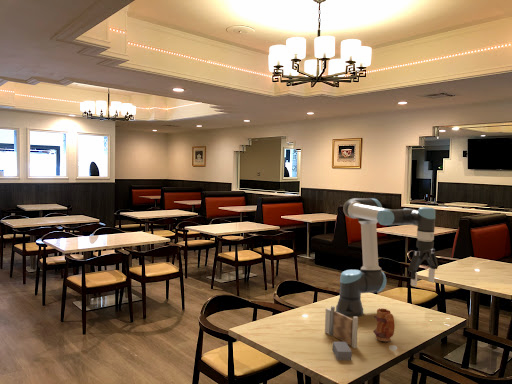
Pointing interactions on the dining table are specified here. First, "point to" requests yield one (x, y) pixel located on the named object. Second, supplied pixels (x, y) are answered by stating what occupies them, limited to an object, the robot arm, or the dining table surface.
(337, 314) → the door
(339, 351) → the block
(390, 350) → the dining table surface
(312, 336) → the dining table surface
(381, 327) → the mug
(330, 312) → the doorframe
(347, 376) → the dining table surface
